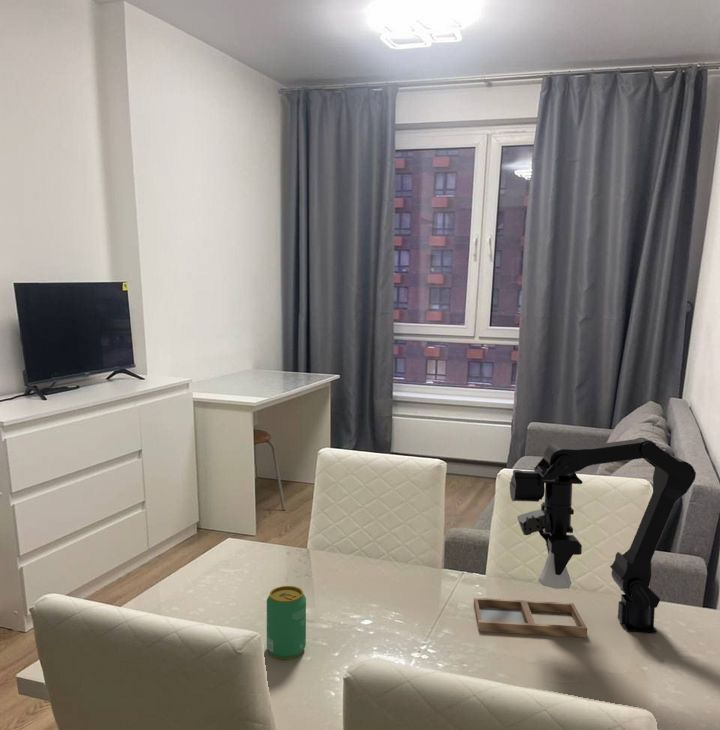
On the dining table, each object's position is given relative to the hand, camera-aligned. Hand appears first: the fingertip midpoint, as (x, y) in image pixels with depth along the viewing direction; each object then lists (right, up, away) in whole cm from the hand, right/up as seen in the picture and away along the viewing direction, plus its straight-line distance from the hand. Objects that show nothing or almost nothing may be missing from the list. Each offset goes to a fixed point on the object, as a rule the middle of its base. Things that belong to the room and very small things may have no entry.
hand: (555, 569), depth 134 cm
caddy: (-6, -12, +2) cm, 14 cm away
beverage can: (-59, -13, -11) cm, 62 cm away
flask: (0, -3, 0) cm, 3 cm away
